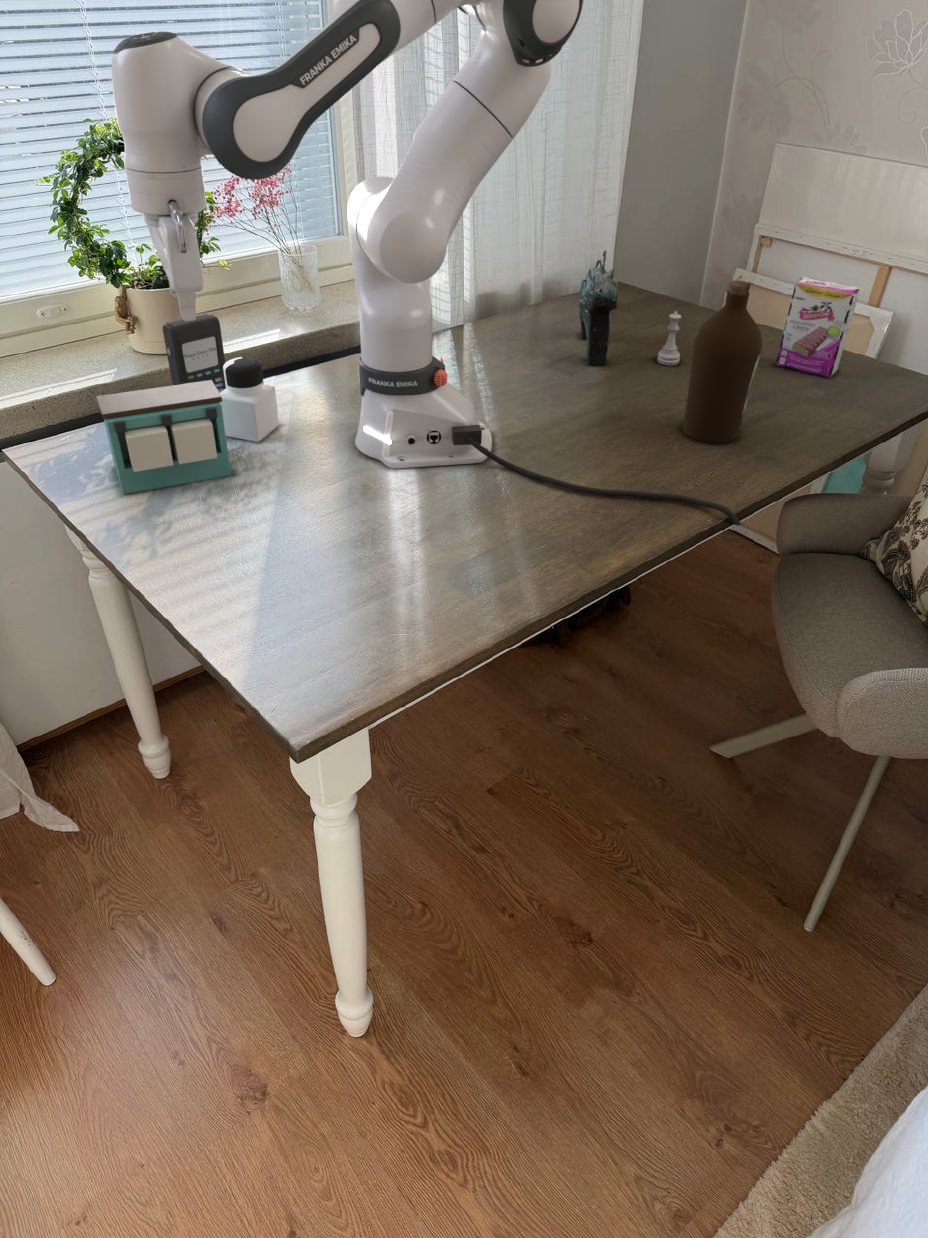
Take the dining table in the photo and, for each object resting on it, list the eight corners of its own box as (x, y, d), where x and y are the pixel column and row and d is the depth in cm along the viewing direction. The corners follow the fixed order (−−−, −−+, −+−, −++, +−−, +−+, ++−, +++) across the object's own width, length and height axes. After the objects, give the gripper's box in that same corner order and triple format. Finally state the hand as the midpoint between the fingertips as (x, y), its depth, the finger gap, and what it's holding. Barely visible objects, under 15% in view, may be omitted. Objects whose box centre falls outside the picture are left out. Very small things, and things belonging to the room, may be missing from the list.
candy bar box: (774, 366, 182) (794, 281, 172) (781, 358, 186) (801, 275, 176) (831, 379, 177) (854, 293, 168) (838, 371, 181) (861, 286, 171)
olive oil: (686, 445, 153) (715, 293, 138) (673, 418, 161) (698, 272, 146) (749, 445, 153) (784, 294, 138) (732, 418, 162) (763, 273, 147)
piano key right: (217, 457, 136) (212, 424, 133) (179, 464, 135) (172, 430, 131) (212, 448, 139) (207, 414, 136) (174, 454, 137) (168, 420, 134)
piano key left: (173, 465, 134) (167, 431, 131) (134, 472, 132) (126, 437, 129) (169, 455, 137) (162, 421, 134) (130, 461, 135) (122, 427, 132)
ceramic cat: (611, 369, 179) (624, 263, 167) (578, 368, 179) (589, 262, 167) (600, 333, 195) (612, 234, 183) (570, 332, 195) (579, 233, 183)
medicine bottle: (279, 425, 156) (272, 356, 148) (258, 443, 150) (250, 372, 143) (242, 418, 157) (233, 350, 150) (220, 435, 152) (210, 365, 145)
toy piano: (235, 477, 141) (224, 401, 133) (121, 497, 135) (103, 419, 128) (221, 450, 148) (210, 376, 140) (112, 468, 142) (94, 393, 135)
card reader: (185, 415, 158) (170, 329, 149) (174, 407, 160) (158, 322, 151) (232, 401, 163) (220, 317, 154) (221, 394, 165) (209, 311, 156)
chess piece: (662, 355, 185) (670, 305, 179) (682, 360, 183) (691, 310, 177) (653, 362, 182) (660, 311, 176) (673, 367, 180) (681, 316, 174)
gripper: (207, 210, 104) (222, 331, 112) (182, 173, 119) (196, 282, 127) (149, 213, 102) (168, 336, 110) (131, 175, 117) (149, 285, 125)
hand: (183, 307), depth 119 cm, fingers open, 8 cm apart
